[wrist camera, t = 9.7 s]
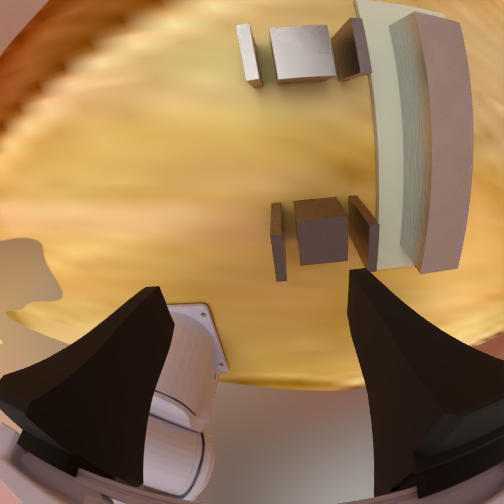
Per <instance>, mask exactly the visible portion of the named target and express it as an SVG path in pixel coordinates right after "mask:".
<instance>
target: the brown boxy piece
mask: <svg viewBox="0 0 504 504" xmlns="http://www.w3.org/2000/svg"><path fill="white" fill-rule="evenodd" d="M293 203H294V212H295V222H296V232H297V242H298V249H299V257H300V264H301V265H311V264H321V263H331V262H340V261H348V216H347V214H346V213H345V211H344V209H343V208H342V206H341V204H340V203H339V201H338V199H337V198H336V197H332V198H320V199H310V200H299V201H293ZM379 229H380V225H379V223H378V222H377V221H376V219H375V218H374V217H373V215H372V214H371V213H370V212H369V210H368V209H367V208H366V206H365V205H364V204H363V203H362V201H361V200H360V199H359V198H358V196H349V235H350V237H351V239H352V241H353V243H354V246H355V248H356V250H357V252H358V254H359V256H360V258H361V260H362V262H363V264H364V266H365V268H366V269H367V270H368V271H369V272H374V271H377V261H378V247H379ZM270 237H271V244H272V251H273V258H274V265H275V273H276V280H277V282H279V281H287V271H286V251H285V237H284V229H283V220H282V212H281V204H280V203H272V206H271V231H270Z"/></svg>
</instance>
